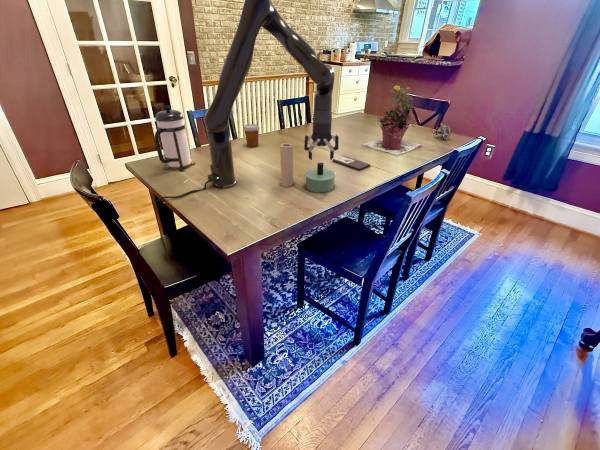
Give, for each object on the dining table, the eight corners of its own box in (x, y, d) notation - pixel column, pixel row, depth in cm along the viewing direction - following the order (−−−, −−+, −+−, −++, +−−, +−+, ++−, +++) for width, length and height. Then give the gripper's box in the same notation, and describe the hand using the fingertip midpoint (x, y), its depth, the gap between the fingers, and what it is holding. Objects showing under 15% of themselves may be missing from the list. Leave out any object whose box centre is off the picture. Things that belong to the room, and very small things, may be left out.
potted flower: (396, 155, 172) (408, 88, 153) (362, 145, 188) (369, 83, 169) (421, 146, 187) (435, 84, 168) (387, 137, 203) (396, 79, 184)
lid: (304, 182, 129) (304, 169, 126) (304, 170, 140) (304, 157, 137) (336, 182, 129) (337, 169, 126) (334, 170, 140) (334, 158, 137)
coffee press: (161, 164, 160) (146, 103, 144) (193, 159, 165) (182, 101, 150) (163, 175, 147) (146, 110, 131) (197, 171, 152) (185, 107, 136)
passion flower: (443, 148, 201) (446, 136, 190) (428, 142, 206) (430, 130, 195) (452, 135, 203) (456, 123, 192) (436, 130, 208) (439, 117, 197)
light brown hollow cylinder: (287, 187, 136) (286, 147, 126) (278, 184, 139) (277, 145, 129) (295, 183, 139) (295, 145, 130) (287, 180, 142) (286, 142, 133)
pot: (305, 192, 132) (305, 180, 129) (305, 180, 142) (305, 169, 140) (334, 192, 132) (335, 180, 129) (332, 180, 142) (333, 169, 139)
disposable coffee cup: (263, 145, 187) (262, 125, 181) (251, 149, 181) (250, 128, 175) (253, 142, 193) (252, 123, 186) (241, 145, 187) (239, 125, 180)
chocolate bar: (359, 168, 152) (332, 159, 163) (359, 170, 153) (332, 161, 164) (370, 164, 157) (343, 155, 169) (370, 166, 158) (343, 157, 169)
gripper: (338, 118, 125) (336, 156, 134) (304, 118, 125) (304, 156, 134) (341, 122, 119) (338, 162, 127) (304, 122, 119) (304, 162, 127)
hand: (320, 159), depth 131 cm, fingers open, 8 cm apart
